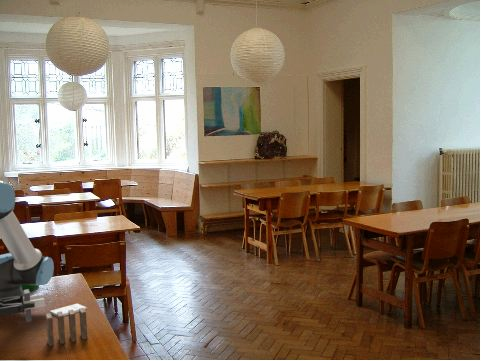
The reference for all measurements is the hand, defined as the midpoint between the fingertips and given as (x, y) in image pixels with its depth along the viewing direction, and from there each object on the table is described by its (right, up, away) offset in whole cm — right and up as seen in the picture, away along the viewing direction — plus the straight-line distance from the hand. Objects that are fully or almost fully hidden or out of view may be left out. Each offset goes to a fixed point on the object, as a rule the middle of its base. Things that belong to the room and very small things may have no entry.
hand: (43, 300), depth 184 cm
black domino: (-5, -6, -2) cm, 8 cm away
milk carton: (-33, -11, +70) cm, 78 cm away
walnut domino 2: (+5, -15, +4) cm, 17 cm away
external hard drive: (-3, -13, +36) cm, 38 cm away
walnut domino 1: (+2, -16, +2) cm, 16 cm away
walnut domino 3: (+9, -15, +6) cm, 18 cm away
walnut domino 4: (+12, -15, +7) cm, 20 cm away
